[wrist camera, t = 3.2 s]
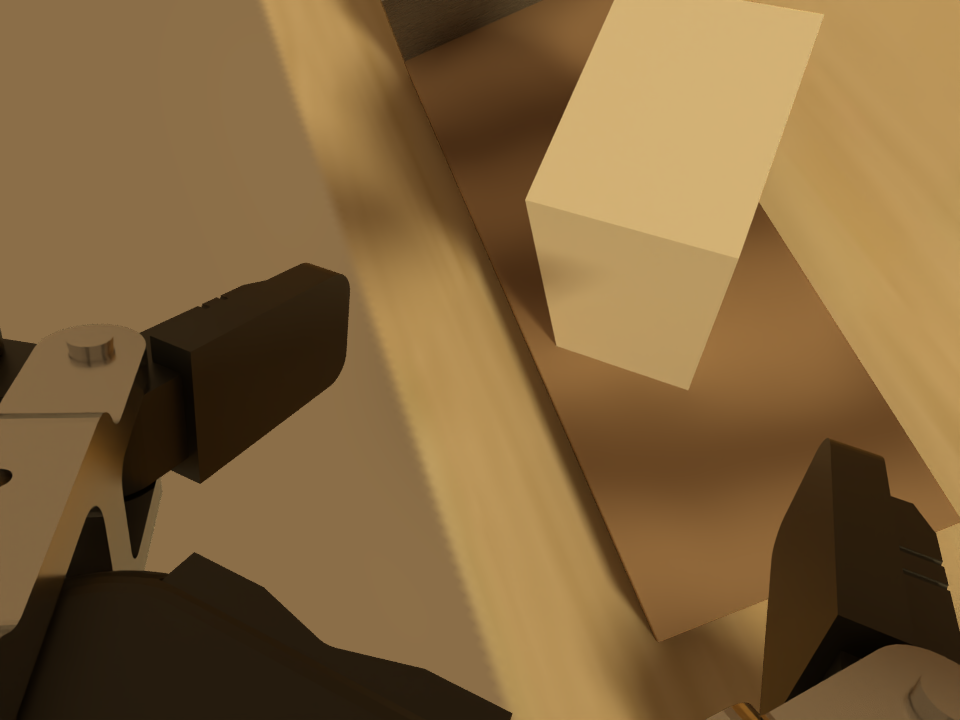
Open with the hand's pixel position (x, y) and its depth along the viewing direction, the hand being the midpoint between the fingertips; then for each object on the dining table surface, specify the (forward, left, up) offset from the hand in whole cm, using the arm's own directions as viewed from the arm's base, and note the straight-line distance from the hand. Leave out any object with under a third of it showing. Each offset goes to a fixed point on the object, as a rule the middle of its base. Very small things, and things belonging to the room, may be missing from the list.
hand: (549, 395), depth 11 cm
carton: (-7, -3, -11) cm, 13 cm away
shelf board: (-8, -4, -12) cm, 15 cm away
